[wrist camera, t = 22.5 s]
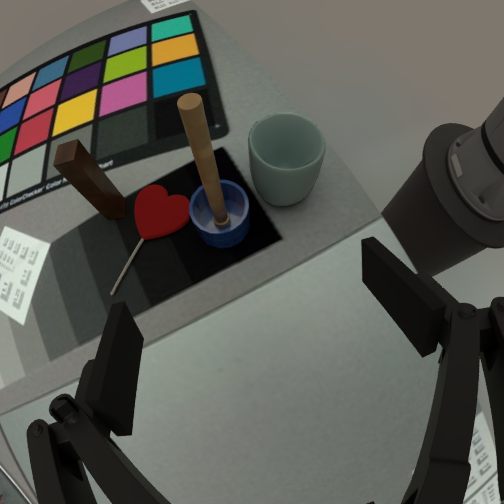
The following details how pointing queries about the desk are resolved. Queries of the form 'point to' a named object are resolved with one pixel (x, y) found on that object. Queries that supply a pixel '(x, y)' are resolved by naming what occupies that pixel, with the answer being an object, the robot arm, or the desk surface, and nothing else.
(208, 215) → the bowl
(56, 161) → the block
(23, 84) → the desk surface
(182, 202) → the lollipop
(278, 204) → the cup
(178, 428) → the desk surface
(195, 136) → the stick
